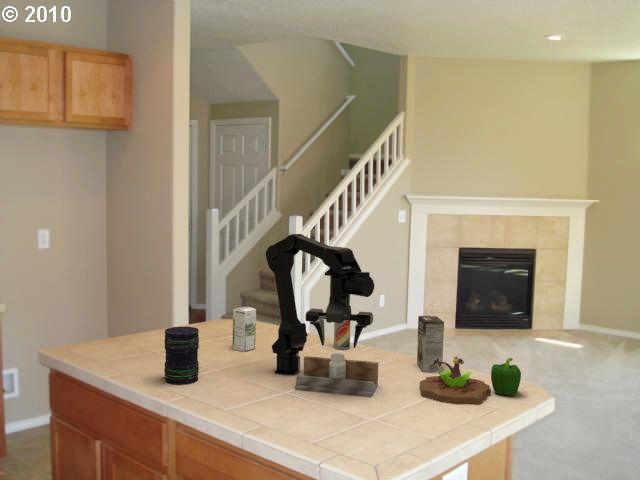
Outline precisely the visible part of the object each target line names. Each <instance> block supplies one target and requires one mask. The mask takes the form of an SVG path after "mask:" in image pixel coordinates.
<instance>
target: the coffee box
mask: <svg viewBox="0 0 640 480" xmlns="http://www.w3.org/2000/svg"><path fill="white" fill-rule="evenodd" d="M444 335H445V321H444V320H442V319H441V318H439V317H438V316H437V315H418V321H417V349H416V350H417V351H416V354H417V355H416V356H417V357H416V364H417V366H418V367H419V369H421V371H422V372H423V373H427V372H428V373H431V372H433V373H437V372H441V373H442V372H443V364H441V366H440V367H437V365H436V364H437V362H443V357H444V356H443V355H444V337H445V336H444Z"/></svg>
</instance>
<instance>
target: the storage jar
mask: <svg viewBox="0 0 640 480" xmlns="http://www.w3.org/2000/svg"><path fill="white" fill-rule="evenodd" d="M199 332H200V331H199V328H197V327H193V326H173V327H167V328H165V330H164V342H163V343H164V350H165V362H164V365H163V366H164V369H163V371H164V377H165V378H164V382H165V383H166V384H169V385H174V386H186V385H191V384H196V383H197V382H198V381H199V371H200V369H199V368H200V367H199V364H200V363H199V361H198V360H199V359H198V356H199V355H198V354H199V352H198V350H199V345H200V338H199Z"/></svg>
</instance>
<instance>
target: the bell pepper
mask: <svg viewBox="0 0 640 480" xmlns="http://www.w3.org/2000/svg"><path fill="white" fill-rule="evenodd" d="M513 360H514V359H513V358H512V357H509V358H507V359H506V361H505V363H501V364H496V363H495V364H493V365H492V367H491V371H490V380H491V386H492V389H493V391H494V393H496V394H498V395H506V396H509V397H511V396H516V394H517V393H518V390H519V387H520V384H521V381H522V380H521V379H522V372H521V369H520V368H519V367H518V365H517V364H511V365H510V363H511V362H512V361H513Z"/></svg>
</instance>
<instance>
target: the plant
mask: <svg viewBox="0 0 640 480" xmlns="http://www.w3.org/2000/svg"><path fill="white" fill-rule="evenodd" d="M452 362H453V365H454V366H451V364H449V363H448V362H446V361H442V362H437V364H436V365H437V367H440V366H441V364H442V365H445V366H446V367H447V368H448V371H447V370H445V369H442V372H443V373H442V372H436V373H437V374H438V375H436V376H435V375H434V376H425V379H423V380H420V381H419V391H420V392H419V393H420V396H421V397H422V398H425V399H428V400H432V399H433V400H432V401H435V400H436V401H435V402H438V401H439V403H444V402H445V404H452V405H474V406H475V405H476V406H479V405H482V404H483V402H484V401H486V400H487V398H488V397H489V396H492V395H491V394H492V389H491V386H490V385H489V384H487V383H485V381H482V380H480V379H475V378H470V376H471V375H472V371H469V372H465V373H463V374H462V372H461V369H460V365H463V364H464V363H465V362H464V360H463V359H462V358H461V357H460V358H458V356H454V358H453V360H452Z"/></svg>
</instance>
